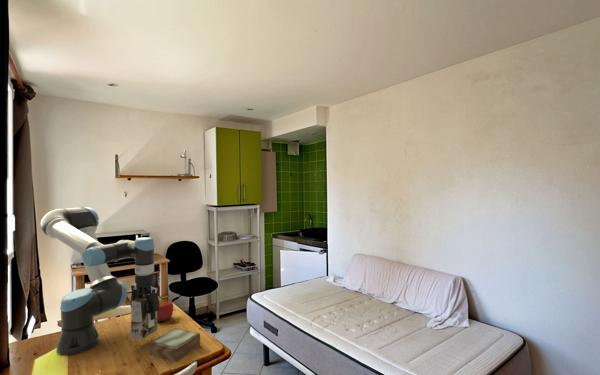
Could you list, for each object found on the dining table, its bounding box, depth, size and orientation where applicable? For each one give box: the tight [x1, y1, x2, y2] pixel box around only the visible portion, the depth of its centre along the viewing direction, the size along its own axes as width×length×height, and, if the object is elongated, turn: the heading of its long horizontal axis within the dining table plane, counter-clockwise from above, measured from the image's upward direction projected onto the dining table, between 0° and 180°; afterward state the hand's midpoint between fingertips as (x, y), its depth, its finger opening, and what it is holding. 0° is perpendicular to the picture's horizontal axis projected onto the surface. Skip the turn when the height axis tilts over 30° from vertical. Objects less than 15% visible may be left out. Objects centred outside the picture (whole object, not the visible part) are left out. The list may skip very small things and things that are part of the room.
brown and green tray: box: [149, 327, 201, 362], centre depth 135 cm, size 14×14×5 cm
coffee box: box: [130, 295, 158, 340], centre depth 140 cm, size 9×6×16 cm
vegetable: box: [157, 298, 174, 323], centre depth 164 cm, size 11×10×10 cm
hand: (144, 324), depth 140 cm, fingers closed on coffee box, 7 cm apart
